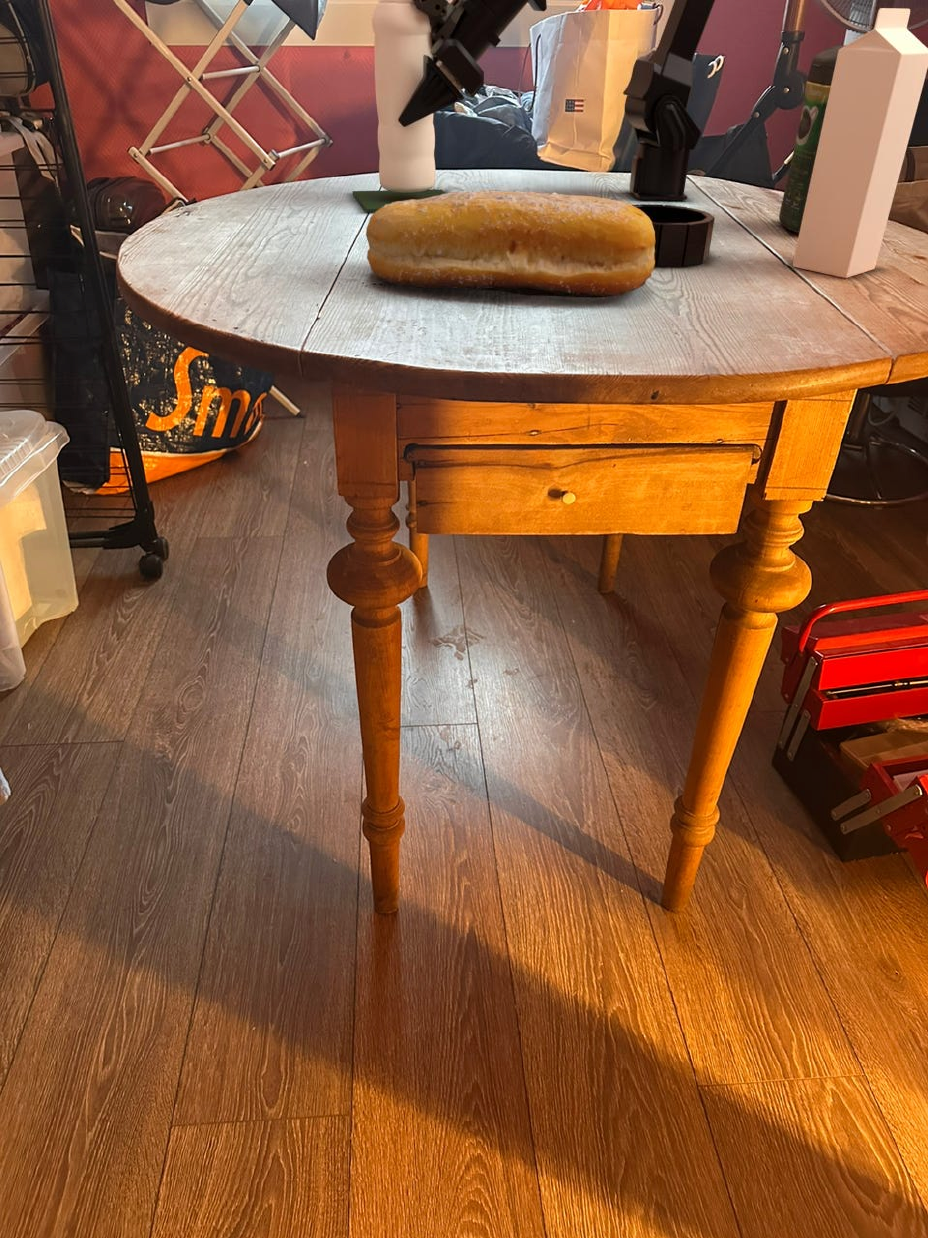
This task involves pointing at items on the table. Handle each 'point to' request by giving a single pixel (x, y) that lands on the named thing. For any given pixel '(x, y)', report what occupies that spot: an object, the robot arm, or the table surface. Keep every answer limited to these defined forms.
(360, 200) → the mat
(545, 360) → the table surface
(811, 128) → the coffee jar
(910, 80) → the milk
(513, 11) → the robot arm
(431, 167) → the water bottle
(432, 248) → the bread
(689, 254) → the holder
